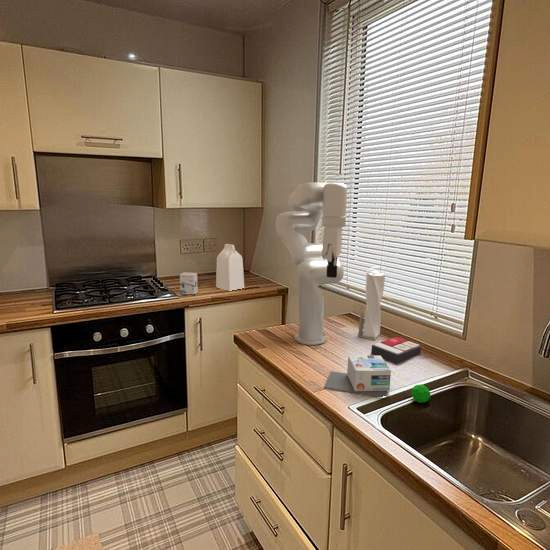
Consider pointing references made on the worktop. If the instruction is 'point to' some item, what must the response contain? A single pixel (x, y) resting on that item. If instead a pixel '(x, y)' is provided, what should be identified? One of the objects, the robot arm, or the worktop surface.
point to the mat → (347, 385)
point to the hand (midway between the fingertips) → (331, 276)
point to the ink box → (188, 283)
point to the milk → (229, 269)
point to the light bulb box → (368, 373)
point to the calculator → (396, 350)
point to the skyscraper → (372, 305)
